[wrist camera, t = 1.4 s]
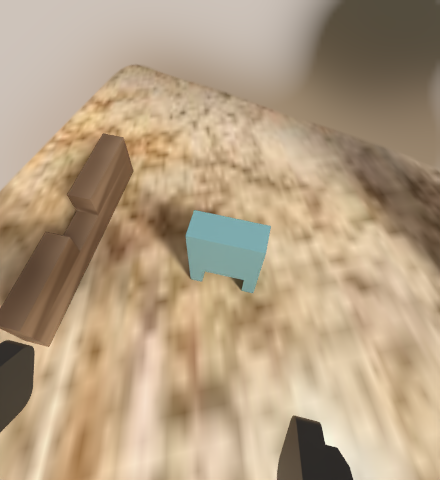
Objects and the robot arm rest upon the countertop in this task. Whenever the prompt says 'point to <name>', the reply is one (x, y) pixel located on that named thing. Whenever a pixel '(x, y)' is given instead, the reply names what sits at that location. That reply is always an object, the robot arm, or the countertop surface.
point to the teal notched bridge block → (226, 247)
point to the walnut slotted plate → (68, 247)
